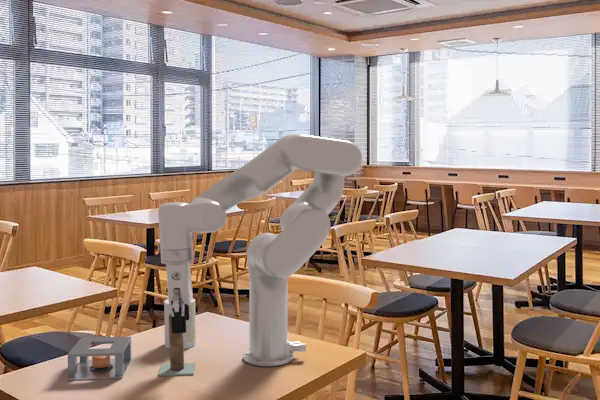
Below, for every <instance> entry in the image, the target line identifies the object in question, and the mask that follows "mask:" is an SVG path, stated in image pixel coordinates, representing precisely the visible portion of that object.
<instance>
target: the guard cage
mask: <svg viewBox="0 0 600 400" xmlns="http://www.w3.org/2000/svg"><path fill="white" fill-rule="evenodd" d="M92 345H110V347H108V348H107V347H106V348H105V347H104V348H91V347H92ZM92 356H110V357H111V356H112V357H113V356H114V358H110V365H109V366H107V367H103V368H95V367H93V366H92V359H89V357H92ZM78 358H79V363H78ZM132 360H133V359H132V336H105V337H103V336H99V337H80V339H79V340H78V341H77V342H76V344H75V345H74V346H73V347H72V349H71V350H70V351H69V352H68V353H67V377H68V378H67V379H68V381H82V380H83V381H85V380H111V379H112V380H114V379H116V378H117V379H123V378H124V376H125V374H126V372H127V370H128V368H129V366H130V364H131V362H132Z"/></svg>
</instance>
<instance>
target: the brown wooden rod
mask: <svg viewBox="0 0 600 400" xmlns="http://www.w3.org/2000/svg"><path fill="white" fill-rule="evenodd" d="M171 316H172V314H169V341H170V349H169V364H170V369H171V370H173V371H179V370H182V369H184V363H185V358H184V357H185V354H184V353H185V352H184V350H185V349H184V347H183V333H175V334H173V333H172V324H171Z"/></svg>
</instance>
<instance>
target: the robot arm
mask: <svg viewBox="0 0 600 400" xmlns="http://www.w3.org/2000/svg"><path fill="white" fill-rule="evenodd" d="M361 151H362V150H361V149H360V147H359V146H357V145H356V144H355V143H353V142H351V141H349V140H343V139H342V140H341V139H335V138H328V137H320V136H316V135H315V136H314V135H308V134H300V133H299V134H288V135H284V136H283V137H281V138H280V139H278V140H276V141H275V142H274V143H273V144H271V145H270V146H269V147H267V148H265V149H264V150H263V151H261V153H259V154H258V155H257V156H255V157H254V158H252V159H251V160H249V161H248V162H247V163H246V164H244V165H242V166H241V167H240V168H237V169H236V170H234V171H233V172H232V173H230V174H229V175H227V176H225V177H223V178H222V179H220V180H219V181H217V182H216V183H214V184H213V185H211V186H210V187H208V188H207V189H205V190H204V191H203V192H202V193H201V194H199V195H197V196H196V197H195V198H194V199H192V201H190V203H187V202H185V201H184V202H183V201H175V202H174V201H173V202H166V203H162V204H160V205H159V207H158V211H157V213H158V214H157V215H158V229H159V244H160V246H159V247H160V263H161V264H163V265H165V268H166V269H165V271H166V284H167V285H166V287H167V296H168V297H167V299H168V300H169V305H170V306H172V316H171V324H172V333H173V334H175V333H185V332H186V320H189V305H190V304H191V301H192V298H194V297H193V295H194V294H193V284H192V272H191V263H192V262H194V259H195V257H194V240H193V239H194V238H193V237H194V236H193V233H206V234H207V233H208V234H209V233H216V232H217V231H220V230H221V229H222V228H224V226H225V224H226V222H227V220H228V219H227V218H228V217H227V211H229V210H230V209H232V208H233V207H235V206H236V205H237V206H238V204H241V203H242V202H245V201H249V200H251V199H252V200H253V199H256V198H258V197H260V196H263V195H265V194H266V193H268V192H269V191H270V190H271V189H272V188H274V187H275V186H277V185H278V184H279V183H281V182H282V181H284V180H285V178H287V177H288V176H290V175H291V174H292V173H294V172H295V171H297V170H299V171H300V170H301V171H307V172H312V173H314V174H313V179H312V181H311V182H310V185H308V187H307V188H306V189H305V190H304V191H303V192H302V193H301V194H300V195H299V196H298V197H297V199H295V200H294V201H293V202H292V203H291V204H290V205H289V206H288V207H287V208H286V209H284V211H283V213H282V214H281V217H280V220H279V227H280V230H281V232H280V233H279V234H275V233H272V232H262V233H260V234H257V235H256V236H254V237H253V238H252V240H250V243H249V245H248V246H247V247H248V248H247V252H246V260H247V261H246V263H247V270H248V281H249V297H248V298H249V299H248V300H249V301H248V302H249V349H247V350H245V351H244V352H243V356H242V357H243V360H244V361H245V362H246V363H248V364H250V365H253V366H257V367H258V366H259V367H276V366H277V367H278V366H283V365H286V364H288V363H291V362H292V361H293V359H294V352H306V351H307V345H306V343H301V342H300V341H290V339H289V337H288V297H289V296H288V294H289V292H288V291H289V290H288V278H289V277H291V276H292V275H294V274H295V273H296V272H297V271H298V270H300V269H301V267H303V265H304V264H305V263H306V262H307V261H308V260H309V259H310V258H311V257H312V256H313V255H314V254H315V253H316V251H318V250H319V249H320V247H322V245H324V243H325V242H326V240H327V238H328V236H329V234H330V231H331V220H330V217H329V214H331V212H332V211H333V210H334V209H335V207H336V206H337V205H338V204H339V203H340V200H341V199H342V197H343V194H344V189H345V177H347V176H348V177H349V176H351V175H353V174H355V173H356V172H357V171H358V170H359V169H360V167H361V166H362V162H363V155H362V152H361Z"/></svg>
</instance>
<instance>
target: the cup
mask: <svg viewBox="0 0 600 400" xmlns="http://www.w3.org/2000/svg"><path fill="white" fill-rule="evenodd" d="M163 304H164V305H163V306H164V307H163V310H164V311H163V312H164V347H165V348H166V349H169V350H170V341H169V314H172V306H170V305H169V300H168V298H167V299H165V300H164V301H163ZM196 328H197V327H196V299H195V298H194V297H192V301H191V304H190V305H189V320H186V332H185V333H183V347H184V350H186V349H187V350H188V349H191V348H193V347H194V345H196V340H197V339H196V338H197V337H196V334H197V333H196ZM190 347H191V348H190Z"/></svg>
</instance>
